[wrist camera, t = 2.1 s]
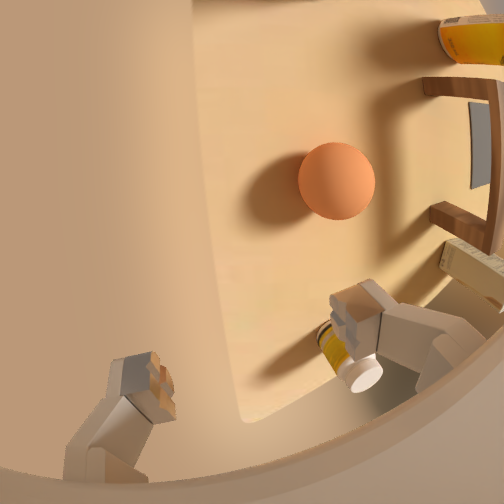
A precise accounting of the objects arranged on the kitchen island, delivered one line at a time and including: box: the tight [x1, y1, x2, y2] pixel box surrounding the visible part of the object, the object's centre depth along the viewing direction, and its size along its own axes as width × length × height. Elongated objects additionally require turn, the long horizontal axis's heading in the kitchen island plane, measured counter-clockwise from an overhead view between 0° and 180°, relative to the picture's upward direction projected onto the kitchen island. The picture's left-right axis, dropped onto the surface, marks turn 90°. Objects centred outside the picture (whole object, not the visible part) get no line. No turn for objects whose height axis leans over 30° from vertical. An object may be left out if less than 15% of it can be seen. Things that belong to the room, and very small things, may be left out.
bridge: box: [422, 77, 504, 256], centre depth 20 cm, size 3×17×10 cm, turn 13°
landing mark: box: [469, 102, 491, 189], centre depth 26 cm, size 12×12×1 cm
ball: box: [298, 143, 375, 220], centre depth 20 cm, size 6×6×6 cm
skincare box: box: [439, 238, 504, 313], centre depth 27 cm, size 6×4×12 cm
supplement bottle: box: [316, 320, 383, 393], centre depth 28 cm, size 5×5×8 cm
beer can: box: [438, 14, 504, 66], centre depth 12 cm, size 6×6×15 cm
